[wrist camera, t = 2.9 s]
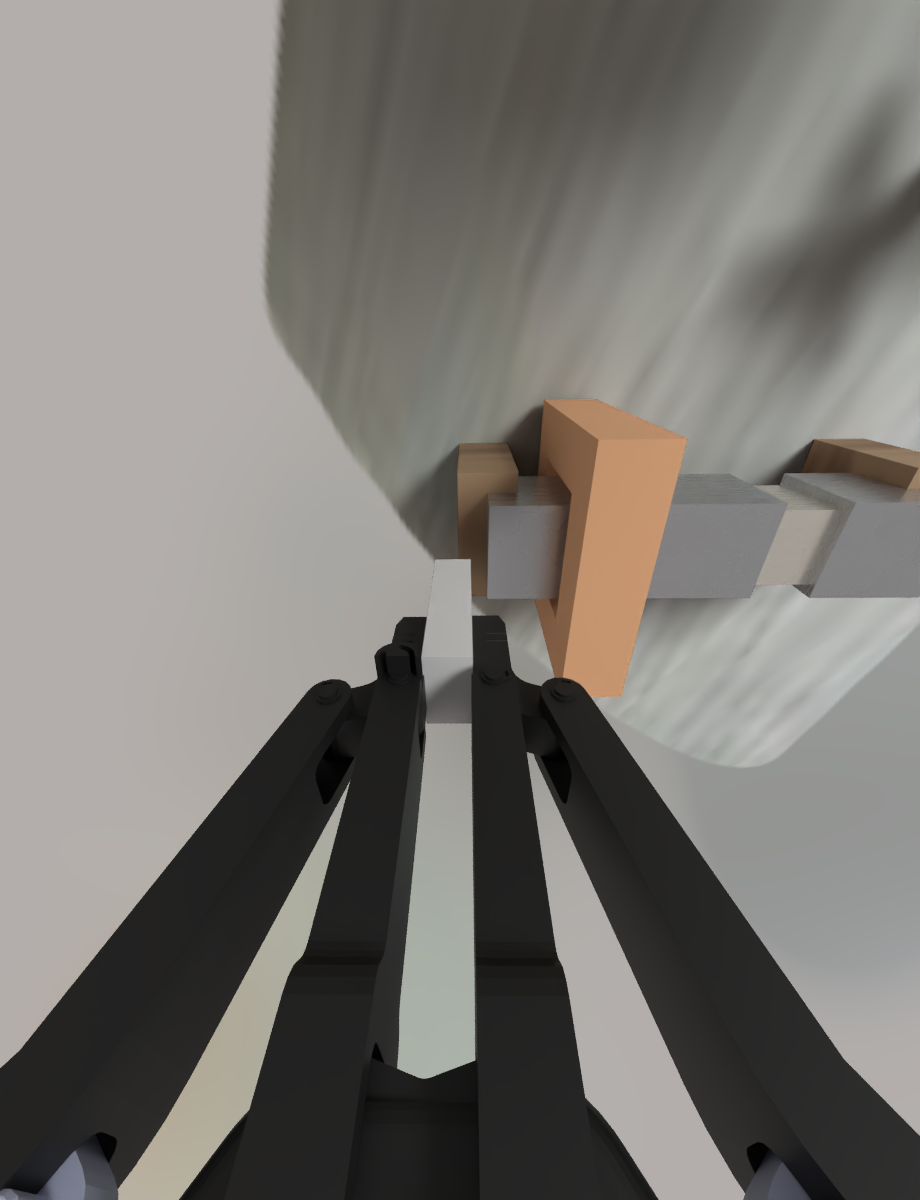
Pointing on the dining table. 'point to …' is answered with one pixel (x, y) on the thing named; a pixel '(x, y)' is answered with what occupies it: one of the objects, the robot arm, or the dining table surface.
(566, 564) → the peach rectangular loop
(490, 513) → the grey long bar
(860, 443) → the stand
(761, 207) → the dining table surface
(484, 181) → the dining table surface
